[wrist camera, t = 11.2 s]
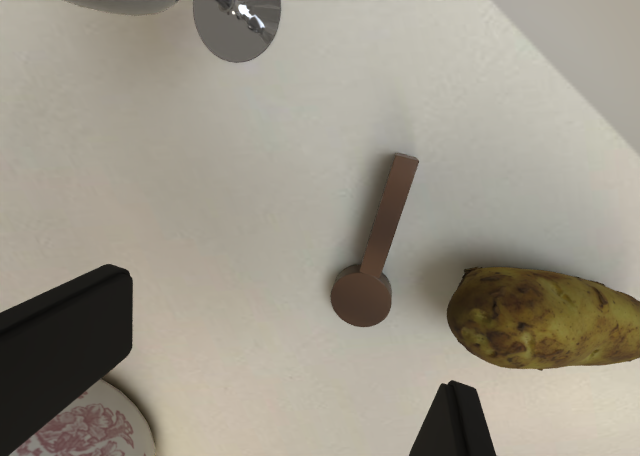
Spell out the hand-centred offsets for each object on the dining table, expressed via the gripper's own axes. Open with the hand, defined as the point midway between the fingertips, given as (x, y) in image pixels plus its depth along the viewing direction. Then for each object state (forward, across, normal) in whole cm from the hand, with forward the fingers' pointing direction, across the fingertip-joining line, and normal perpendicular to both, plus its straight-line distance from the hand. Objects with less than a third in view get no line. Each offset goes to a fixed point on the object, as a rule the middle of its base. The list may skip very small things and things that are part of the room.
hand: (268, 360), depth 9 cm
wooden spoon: (+18, -3, +2) cm, 18 cm away
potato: (+18, -15, +3) cm, 24 cm away
